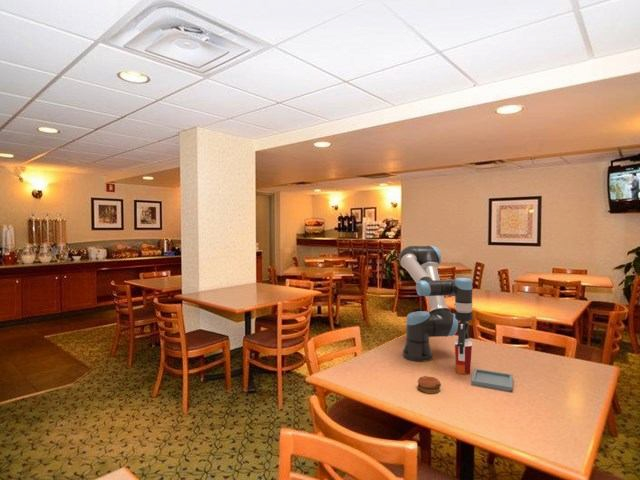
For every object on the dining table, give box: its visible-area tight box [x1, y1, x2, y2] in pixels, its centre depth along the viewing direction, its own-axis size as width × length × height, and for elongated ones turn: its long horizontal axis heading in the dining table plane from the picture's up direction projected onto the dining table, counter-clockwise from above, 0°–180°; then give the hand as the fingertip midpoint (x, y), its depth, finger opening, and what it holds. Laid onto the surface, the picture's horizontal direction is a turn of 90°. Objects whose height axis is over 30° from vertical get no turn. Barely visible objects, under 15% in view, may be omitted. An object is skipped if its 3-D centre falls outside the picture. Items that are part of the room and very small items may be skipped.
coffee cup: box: [453, 338, 473, 375], centre depth 179 cm, size 8×8×15 cm
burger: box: [417, 375, 442, 395], centre depth 161 cm, size 10×9×5 cm
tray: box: [470, 368, 514, 393], centre depth 168 cm, size 16×16×2 cm
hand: (463, 356), depth 179 cm, fingers open, 13 cm apart
